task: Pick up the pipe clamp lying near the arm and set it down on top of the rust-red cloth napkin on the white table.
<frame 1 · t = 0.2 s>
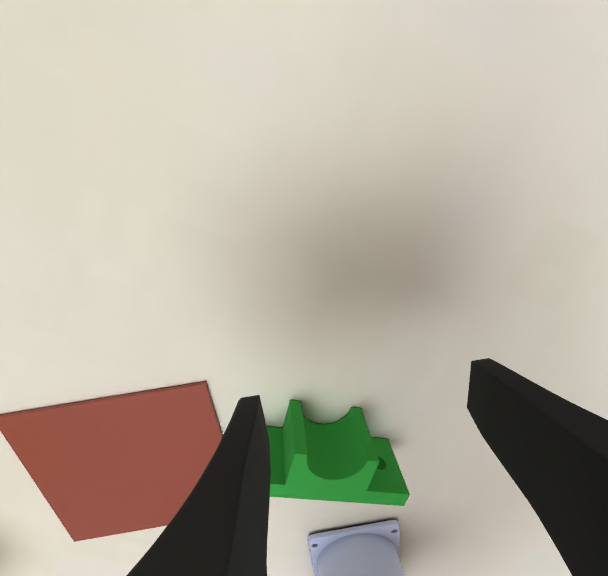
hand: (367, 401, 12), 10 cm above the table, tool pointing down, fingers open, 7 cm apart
napkin: (134, 467, 25), on the table
pipe clamp: (320, 423, 26), on the table
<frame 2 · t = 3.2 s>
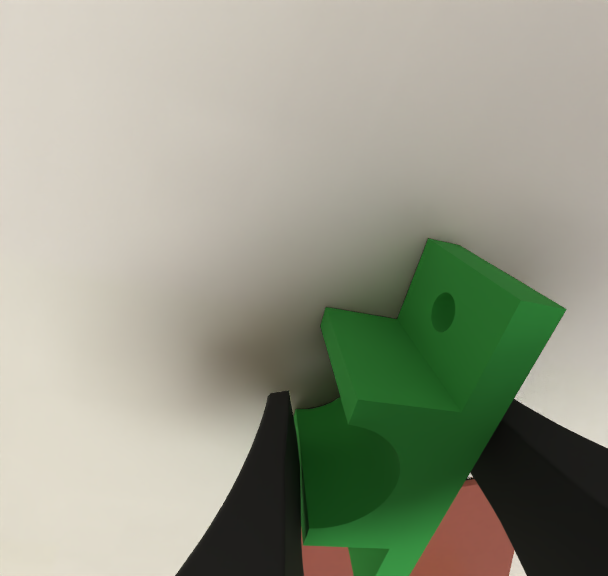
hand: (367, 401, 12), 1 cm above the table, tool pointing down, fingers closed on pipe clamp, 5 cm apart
napkin: (391, 575, 19), on the table
pipe clamp: (358, 371, 13), on the table, touching gripper
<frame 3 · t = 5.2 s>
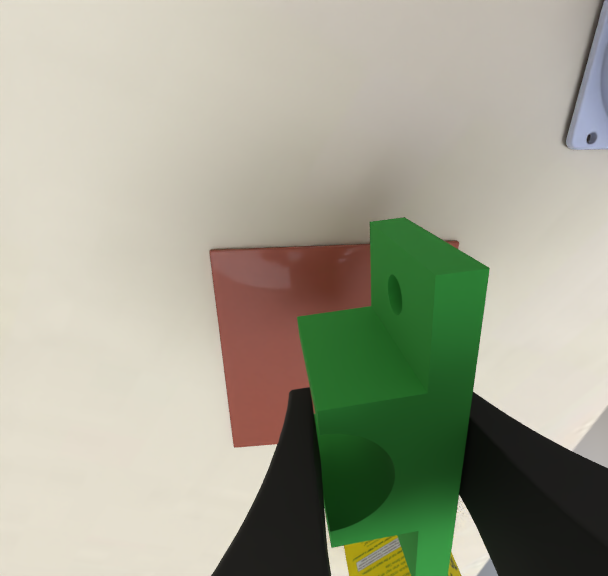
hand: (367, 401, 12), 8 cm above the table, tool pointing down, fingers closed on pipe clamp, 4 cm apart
supplement box: (388, 520, 29), on the table
napkin: (333, 353, 21), on the table
pipe clamp: (354, 364, 13), point 7 cm above the table, touching gripper
when the fingers open (2 cm above the table, at t = 7.6 s): pipe clamp stays where it is, resting on napkin.
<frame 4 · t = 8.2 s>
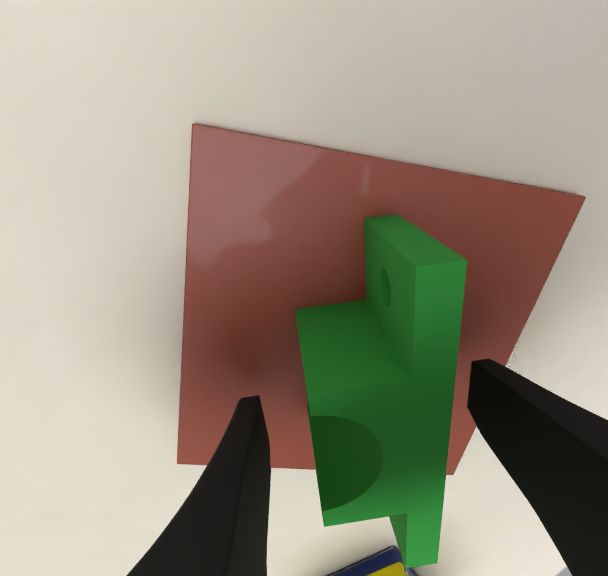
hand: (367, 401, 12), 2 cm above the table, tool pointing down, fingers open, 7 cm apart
napkin: (355, 342, 14), on the table
pipe clamp: (351, 355, 14), resting on napkin
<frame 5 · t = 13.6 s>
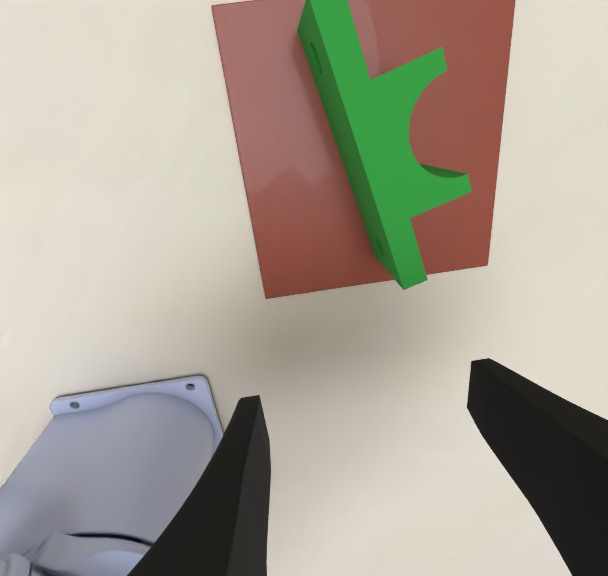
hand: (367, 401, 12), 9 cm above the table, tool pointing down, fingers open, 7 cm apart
napkin: (372, 157, 18), on the table
pipe clamp: (373, 145, 17), resting on napkin
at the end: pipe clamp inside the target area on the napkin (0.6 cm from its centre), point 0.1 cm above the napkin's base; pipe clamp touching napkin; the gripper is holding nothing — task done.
